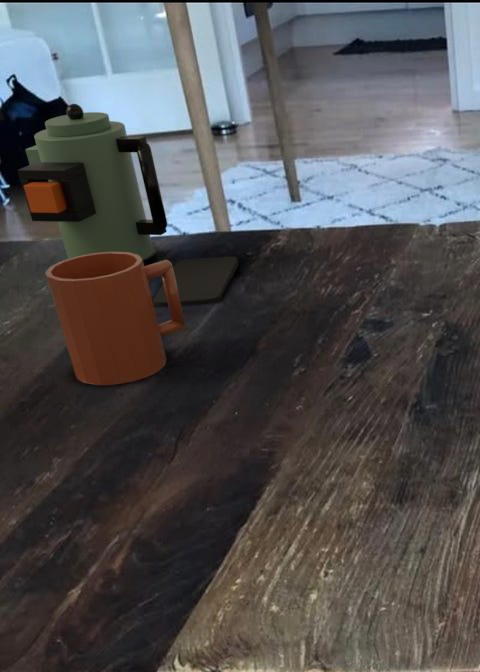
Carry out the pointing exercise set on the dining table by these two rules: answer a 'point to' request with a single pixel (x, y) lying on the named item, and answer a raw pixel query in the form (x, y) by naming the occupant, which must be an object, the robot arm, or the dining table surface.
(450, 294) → the dining table surface
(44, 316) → the dining table surface
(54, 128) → the kettle
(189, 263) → the phone
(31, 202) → the switch
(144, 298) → the mug
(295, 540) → the dining table surface
